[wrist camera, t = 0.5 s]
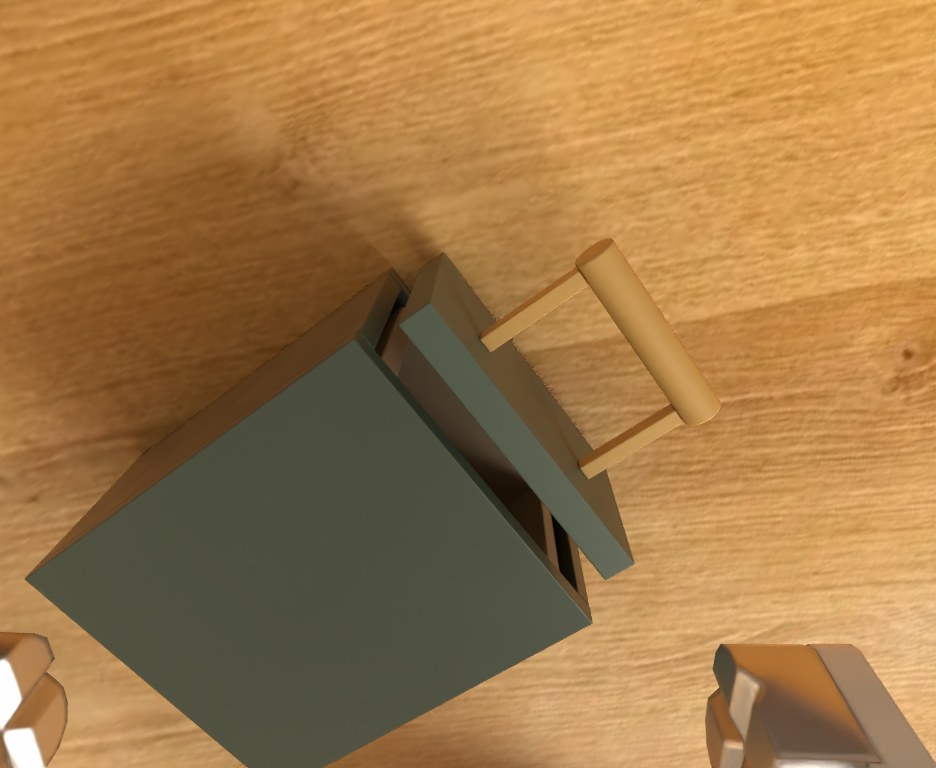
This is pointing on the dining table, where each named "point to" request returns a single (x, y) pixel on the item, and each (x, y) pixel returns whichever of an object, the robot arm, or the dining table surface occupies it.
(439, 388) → the drawer
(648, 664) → the dining table surface
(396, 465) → the cabinet
